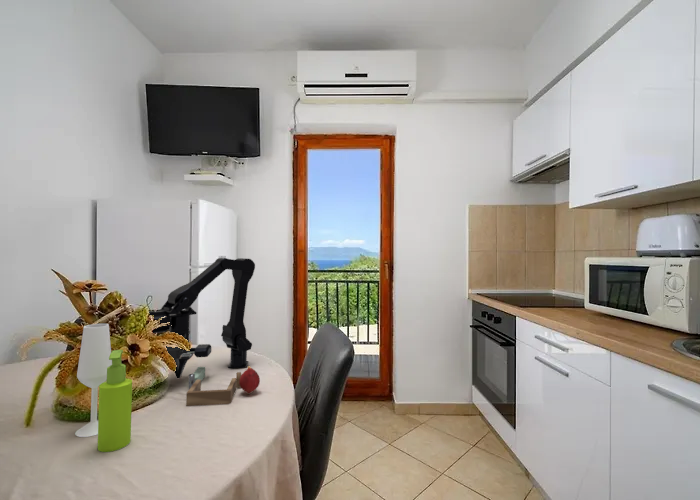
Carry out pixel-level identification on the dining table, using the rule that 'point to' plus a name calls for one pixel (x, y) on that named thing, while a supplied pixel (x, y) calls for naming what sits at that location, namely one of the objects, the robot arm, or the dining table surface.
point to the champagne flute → (93, 368)
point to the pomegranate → (249, 380)
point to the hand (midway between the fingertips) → (178, 378)
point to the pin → (191, 380)
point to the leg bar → (199, 373)
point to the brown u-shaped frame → (212, 393)
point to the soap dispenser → (115, 407)
